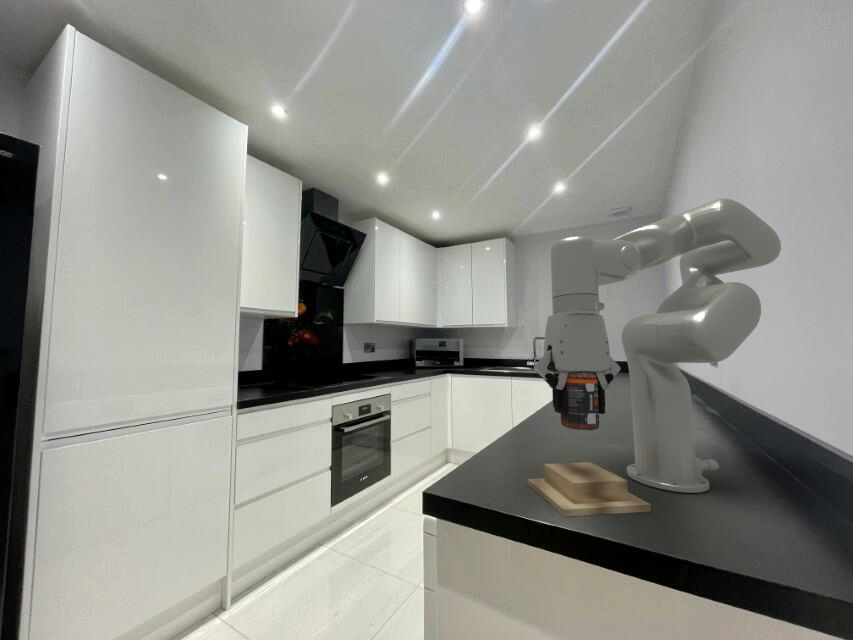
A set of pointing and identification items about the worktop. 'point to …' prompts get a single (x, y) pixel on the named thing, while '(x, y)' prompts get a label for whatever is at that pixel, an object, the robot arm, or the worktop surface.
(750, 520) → the worktop surface
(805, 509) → the worktop surface
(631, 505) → the oak base
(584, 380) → the supplement bottle
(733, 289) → the robot arm
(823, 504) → the worktop surface
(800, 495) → the worktop surface
